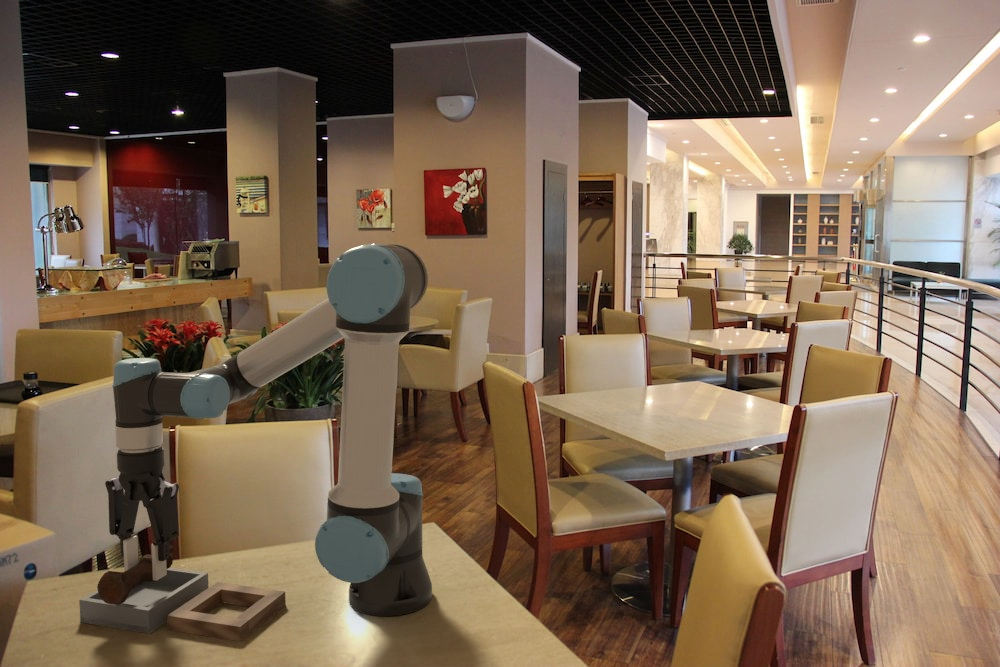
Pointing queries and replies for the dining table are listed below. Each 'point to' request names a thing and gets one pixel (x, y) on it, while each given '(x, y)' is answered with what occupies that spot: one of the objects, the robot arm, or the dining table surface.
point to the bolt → (126, 580)
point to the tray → (145, 602)
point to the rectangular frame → (198, 622)
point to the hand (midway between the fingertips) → (145, 575)
